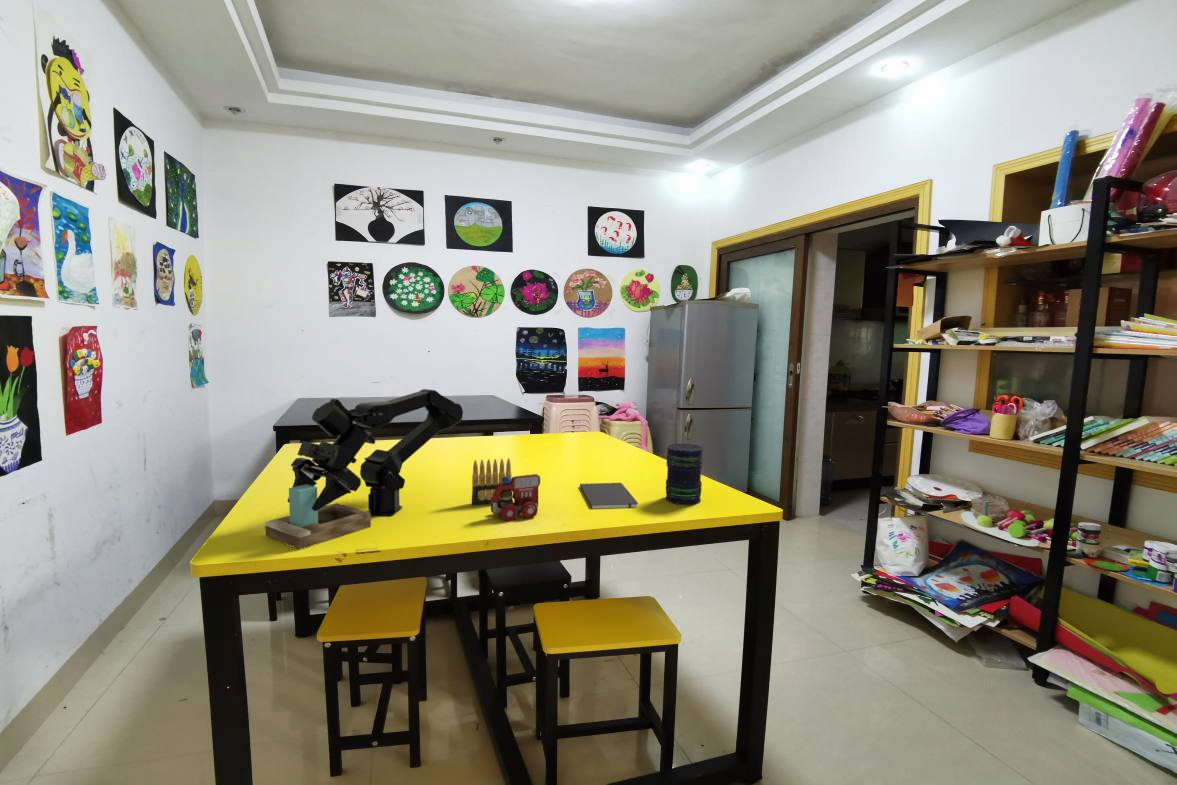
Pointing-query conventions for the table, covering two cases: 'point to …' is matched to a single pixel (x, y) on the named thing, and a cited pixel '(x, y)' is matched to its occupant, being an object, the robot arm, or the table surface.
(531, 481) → the toy fire truck
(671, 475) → the storage jar
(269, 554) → the table surface
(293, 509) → the peg
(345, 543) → the table surface
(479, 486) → the ammunition clip
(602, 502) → the notebook
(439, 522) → the table surface
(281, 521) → the keyhole plate
